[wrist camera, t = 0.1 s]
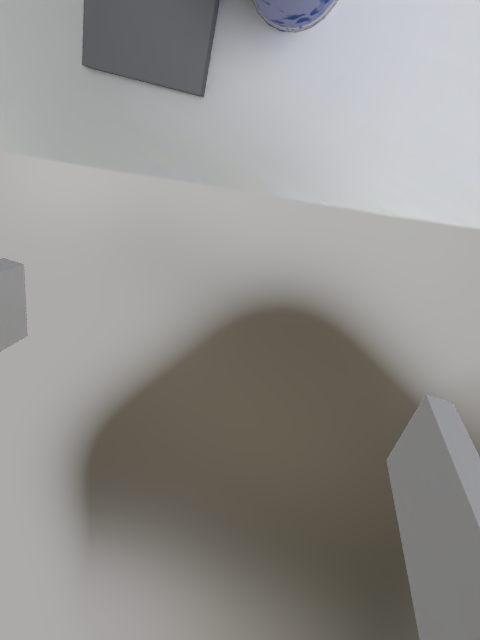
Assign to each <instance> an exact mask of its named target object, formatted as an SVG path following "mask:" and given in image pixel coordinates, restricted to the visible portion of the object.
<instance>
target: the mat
mask: <svg viewBox="0 0 480 640" xmlns="http://www.w3.org/2000/svg"><path fill="white" fill-rule="evenodd" d="M218 6H219V0H84V19H83V54H82V65H84V66H86V67H89V68H93V69H97V70H101V71H105V72H109V73H112V74H116V75H120V76H124V77H128V78H132V79H136V80H140V81H144V82H148V83H152V84H155V85H159V86H163V87H167V88H171V89H175V90H179V91H183V92H187V93H191V94H194V95H198V96H202V97H204V92H205V86H206V80H207V74H208V68H209V61H210V55H211V49H212V43H213V37H214V31H215V24H216V18H217V12H218Z"/></svg>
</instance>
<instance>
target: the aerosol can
mask: <svg viewBox="0 0 480 640" xmlns="http://www.w3.org/2000/svg"><path fill="white" fill-rule="evenodd" d="M253 1H254V4H255V6H256V8H257V11H258V13H259V14H260V15H261V16H262V17H263V19H264V20H265V21H266V22H267V23H268V24H269V25H271V26H273V27H275V28H276V29H278V30H280V31H286V32H299V31H302V30H305V29H309V28H311V27H313V26H314V25H315V24H317V23H318V22H320V21H321V20H322V19H324V18H325V17H326V15H327V14H328V13H329V12H330V10H331V9H332V8H333V7H334V5H335V4H336V3H337V1H338V0H253Z"/></svg>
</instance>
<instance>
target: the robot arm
mask: <svg viewBox="0 0 480 640" xmlns="http://www.w3.org/2000/svg"><path fill="white" fill-rule="evenodd" d="M26 336H27V316H26V295H25V275H24V265H23V264H21V263H17V262H14V261H11V260H8V259H5V258H2V259H0V352H1V351H2V350H4V349H6V348H7V347H9V346H11V345H13V344H14V343H16V342H18V341H19V340H21V339H23V338H25V337H26ZM387 464H388V470H389V475H390V481H391V486H392V491H393V497H394V502H395V507H396V513H397V518H398V524H399V529H400V535H401V540H402V546H403V551H404V556H405V561H406V567H407V573H408V578H409V583H410V589H411V594H412V600H413V605H414V610H415V615H416V621H417V627H418V632H419V637H420V640H480V457H479V455H478V453H477V451H476V449H475V447H474V445H473V443H472V441H471V439H470V437H469V435H468V433H467V431H466V429H465V427H464V425H463V423H462V421H461V419H460V417H459V415H458V413H457V411H456V409H455V407H454V405H453V403H451V402H448V401H445V400H442V399H438V398H436V397H432V396H429V395H425V397H424V398H423V400H422V402H421V403H420V405H419V407H418V408H417V410H416V412H415V414H414V415H413V417H412V418H411V420H410V422H409V424H408V425H407V427H406V429H405V430H404V432H403V434H402V435H401V437H400V439H399V440H398V442H397V444H396V445H395V447H394V449H393V450H392V452H391V454H390V455H389V457H388V459H387Z"/></svg>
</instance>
